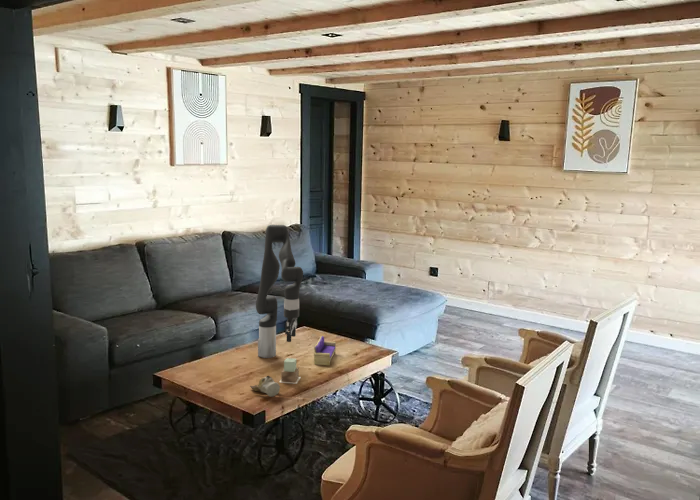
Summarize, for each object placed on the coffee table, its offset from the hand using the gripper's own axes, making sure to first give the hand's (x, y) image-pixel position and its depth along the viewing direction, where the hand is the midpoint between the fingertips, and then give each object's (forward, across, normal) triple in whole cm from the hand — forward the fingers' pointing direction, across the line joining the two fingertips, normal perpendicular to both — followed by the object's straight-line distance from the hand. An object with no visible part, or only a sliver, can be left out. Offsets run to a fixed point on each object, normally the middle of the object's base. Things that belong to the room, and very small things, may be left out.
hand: (291, 339), depth 299 cm
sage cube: (+15, +3, 0) cm, 15 cm away
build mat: (+20, +3, +1) cm, 21 cm away
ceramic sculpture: (+21, +20, -6) cm, 29 cm away
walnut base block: (+20, +3, +1) cm, 20 cm away
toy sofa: (+21, -32, +11) cm, 40 cm away
